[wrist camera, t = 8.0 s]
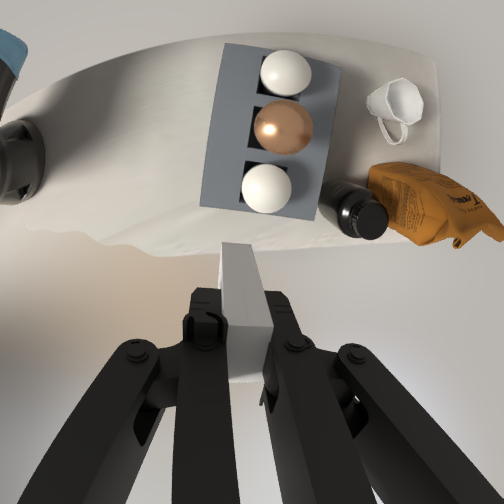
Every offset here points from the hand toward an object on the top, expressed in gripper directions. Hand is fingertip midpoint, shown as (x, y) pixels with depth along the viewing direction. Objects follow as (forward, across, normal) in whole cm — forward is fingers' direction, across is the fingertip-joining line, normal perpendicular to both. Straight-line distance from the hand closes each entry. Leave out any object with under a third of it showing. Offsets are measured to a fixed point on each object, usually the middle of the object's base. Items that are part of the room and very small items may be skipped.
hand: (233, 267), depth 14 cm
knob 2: (+24, +4, +2) cm, 24 cm away
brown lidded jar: (+20, +4, +8) cm, 22 cm away
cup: (+26, +22, +15) cm, 38 cm away
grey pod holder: (+27, +4, +8) cm, 28 cm away
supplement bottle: (+26, +17, 0) cm, 31 cm away
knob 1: (+24, +5, +14) cm, 28 cm away
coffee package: (+26, +28, +3) cm, 38 cm away
